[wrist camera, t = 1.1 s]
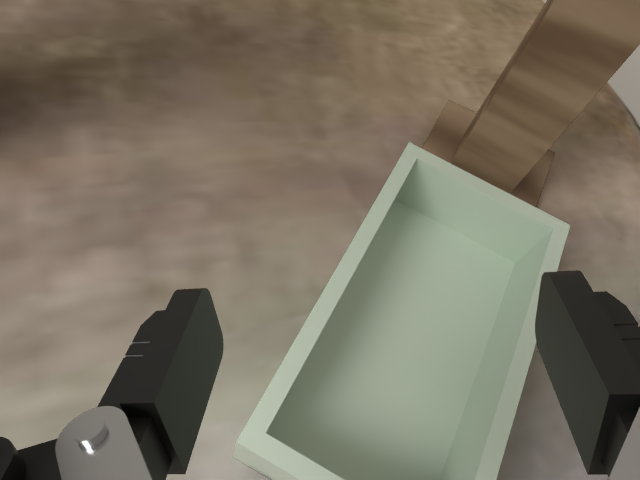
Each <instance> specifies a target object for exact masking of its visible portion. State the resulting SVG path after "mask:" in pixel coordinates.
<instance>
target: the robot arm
mask: <svg viewBox="0 0 640 480" xmlns="http://www.w3.org/2000/svg"><path fill="white" fill-rule="evenodd" d="M535 336H536V342H537V346H538V349H539V352H540V354H541V357H542V359H543V362H544V364H545V367H546V370H547V372H548V375H549V377H550V380H551V382H552V385H553V387H554V390H555V392H556V395H557V397H558V400H559V402H560V405H561V408H562V410H563V413H564V415H565V418H566V420H567V423H568V425H569V428H570V430H571V433H572V435H573V438H574V440H575V443H576V446H577V448H578V451H579V453H580V456H581V458H582V461H583V463H584V466H585V468H586V471H587V473H588V474H608V477H609V478H608V480H640V327H638V323H637V321H636V320H635V318H634V317H633V315H632V314H631V312H630V311H629V309H628V308H627V306H626V305H624V304H623V303H621V302H620V301H619V300H617V299H616V298H615V297H613V296H612V295H611V294H609V293H608V292H607V291H606V292H593V290H592V289H591V287H590V285H589V284H588V282H587V280H586V279H585V277H584V275H583V274H582V273H581V272H580V271H558V272H544V273H543V275H542V278H541V284H540V291H539V298H538V305H537V312H536V319H535ZM125 355H126V357H125V358H123V360H122V362H121V364H120V366H119V368H118V369H117V371H116V373H115V375H114V377H113V379H112V381H111V383H110V384H109V386H108V388H107V390H106V392H105V394H104V396H103V397H102V399H101V401H100V403H99V405H98V407H96V408H93V409H90V410H88V411H86V412H84V413H82V414H80V415H79V416H77V417H76V418H74V419H73V420H72V421H71V422H70V423H69V424H68V425H67V426H66V427H65V428H64V429H63V431H62V432H61V433H60V435H59V437H58V439H55V440H52V441H48V442H45V443H41V444H38V445H35V446H31V447H28V448H24V449H21V450H18V451H17V450H16V448H15V447H14V445H13V444H12V443H11V441H9V440H8V439H6V438H4V437H0V480H166V477H167V474H185V473H186V470H187V467H188V463H189V460H190V457H191V454H192V451H193V448H194V444H195V441H196V438H197V435H198V432H199V429H200V425H201V422H202V419H203V416H204V413H205V410H206V407H207V403H208V400H209V397H210V394H211V391H212V388H213V384H214V381H215V378H216V375H217V372H218V369H219V365H220V362H221V359H222V355H223V336H222V331H221V328H220V325H219V321H218V318H217V314H216V311H215V308H214V304H213V301H212V298H211V295H210V292H209V290H208V289H206V288H201V289H181V290H176V291H175V292H174V294H173V296H172V298H171V300H170V302H169V304H168V306H167V308H166V310H163V311H156V312H155V313H154V314H153V315H152V316H150V317H149V318H148V319H147V320H146V321H145V322H144V323H143V324H142V325H141V326H140V328H139V330H138V332H137V334H136V336H135V338H134V340H133V344H132V345H130V347H129V349H128V351H127V353H126V354H125Z"/></svg>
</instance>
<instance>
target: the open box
mask: <svg viewBox="0 0 640 480" xmlns="http://www.w3.org/2000/svg"><path fill="white" fill-rule="evenodd" d="M569 228H570V225H569V224H567V223H565V222H563V221H561V220H559V219H557V218H555V217H553V216H551V215H550V214H548V213H546V212H544V211H542V210H540V209H538V208H536V207H534V206H532V205H530V204H528V203H526V202H524V201H522V200H520V199H519V198H517V197H515V196H513V195H511V194H509V193H507V192H505V191H503V190H501V189H499V188H497V187H495V186H493V185H491V184H489V183H487V182H486V181H484V180H482V179H480V178H478V177H476V176H474V175H472V174H470V173H468V172H466V171H464V170H462V169H460V168H458V167H456V166H454V165H453V164H451V163H449V162H447V161H445V160H443V159H441V158H439V157H437V156H435V155H433V154H431V153H429V152H427V151H425V150H423V149H421V148H420V147H418V146H416V145H414V144H412V143H410V142H409V143H408V145H407V147H406V148H405V150H404V152H403V154H402V155H401V157H400V159H399V160H398V162H397V164H396V166H395V167H394V169H393V171H392V173H391V174H390V176H389V178H388V180H387V181H386V183H385V185H384V186H383V188H382V190H381V192H380V193H379V195H378V197H377V199H376V200H375V202H374V204H373V206H372V207H371V209H370V211H369V213H368V214H367V216H366V218H365V219H364V221H363V223H362V225H361V226H360V228H359V230H358V232H357V233H356V235H355V237H354V239H353V240H352V242H351V244H350V245H349V247H348V249H347V251H346V252H345V254H344V256H343V258H342V259H341V261H340V263H339V265H338V266H337V268H336V270H335V272H334V273H333V275H332V277H331V278H330V280H329V282H328V284H327V285H326V287H325V289H324V291H323V292H322V294H321V296H320V298H319V299H318V301H317V303H316V304H315V306H314V308H313V310H312V311H311V313H310V315H309V317H308V318H307V320H306V322H305V324H304V325H303V327H302V329H301V331H300V332H299V334H298V336H297V337H296V339H295V341H294V343H293V344H292V346H291V348H290V350H289V351H288V353H287V355H286V357H285V358H284V360H283V362H282V363H281V365H280V367H279V369H278V370H277V372H276V374H275V376H274V377H273V379H272V381H271V383H270V384H269V386H268V388H267V389H266V391H265V393H264V395H263V396H262V398H261V400H260V402H259V403H258V405H257V407H256V409H255V410H254V412H253V414H252V416H251V417H250V419H249V421H248V422H247V424H246V426H245V428H244V429H243V431H242V433H241V435H240V436H239V438H238V440H237V442H236V446H235V451H234V455H233V457H234V458H235V459H237V460H239V461H240V462H242V463H244V464H245V465H247V466H249V467H250V468H252V469H254V470H255V471H257V472H259V473H260V474H262V475H264V476H265V477H267V478H269V479H270V480H496V479H497V476H498V472H499V469H500V466H501V462H502V459H503V455H504V452H505V448H506V445H507V441H508V438H509V435H510V431H511V428H512V424H513V421H514V417H515V414H516V410H517V407H518V404H519V400H520V397H521V393H522V390H523V386H524V383H525V380H526V376H527V373H528V369H529V366H530V362H531V359H532V355H533V352H534V349H535V345H536V336H535V319H536V312H537V305H538V298H539V291H540V284H541V278H542V275H543V273H544V272H557V270H558V266H559V263H560V259H561V256H562V252H563V249H564V245H565V242H566V239H567V235H568V232H569Z"/></svg>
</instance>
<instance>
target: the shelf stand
mask: <svg viewBox="0 0 640 480" xmlns="http://www.w3.org/2000/svg"><path fill="white" fill-rule="evenodd" d="M639 44H640V0H547V2H546V3H545V5H544V6H543V8H542V10H541V11H540V13H539V14H538V16H537V18H536V19H535V21H534V22H533V24H532V26H531V27H530V29H529V30H528V32H527V34H526V35H525V37H524V38H523V40H522V42H521V43H520V45H519V47H518V48H517V50H516V51H515V53H514V55H513V56H512V58H511V59H510V61H509V63H508V64H507V66H506V67H505V69H504V71H503V72H502V74H501V75H500V77H499V79H498V80H497V82H496V83H495V85H494V87H493V88H492V90H491V91H490V93H489V95H488V96H487V98H486V99H485V101H484V103H483V104H482V106H481V107H480V109H479V111H478V112H477V113H475V112H473V111H471V110H469V109H467V108H465V107H463V106H461V105H459V104H457V103H455V102H453V101H451V100H448V102H447V104H446V106H445V108H444V109H443V111H442V113H441V115H440V117H439V119H438V120H437V122H436V124H435V126H434V128H433V129H432V131H431V133H430V135H429V137H428V138H427V140H426V142H425V144H424V146H423V148H422V149H423V150H425V151H427V152H429V153H431V154H433V155H435V156H437V157H439V158H441V159H443V160H445V161H447V162H449V163H451V164H453V165H454V166H456V167H458V168H460V169H462V170H464V171H466V172H468V173H470V174H472V175H474V176H476V177H478V178H480V179H482V180H484V181H486V182H487V183H489V184H491V185H493V186H495V187H497V188H499V189H501V190H503V191H505V192H507V193H509V194H511V195H513V196H515V197H517V198H519V199H520V200H522V201H524V202H526V203H528V204H530V205H532V206H534V207H536V206H537V203H538V200H539V197H540V194H541V191H542V188H543V185H544V183H545V180H546V177H547V174H548V171H549V168H550V165H551V162H552V159H553V157H554V154H555V153H554V152H552V151H550V150H548V149H549V148H550V147H551V146H552V144H553V143H554V142H555V141H556V140H557V139H558V138H559V136H560V135H561V134H562V133H563V132H564V131H565V130H566V128H567V127H568V126H569V125H570V124H571V123H572V122H573V120H574V119H575V118H576V117H577V116H578V115H579V113H580V112H581V111H582V110H583V109H584V108H585V107H586V105H587V104H588V103H589V102H590V101H591V100H592V99H593V97H594V96H595V95H596V94H597V93H598V92H599V91H600V89H601V88H602V87H603V86H604V85H605V84H606V82H607V81H608V80H609V79H610V78H611V77H612V75H613V74H614V73H615V72H616V71H617V70H618V69H619V68H620V66H621V65H622V64H623V63H624V62H625V61H626V59H627V58H628V57H629V56H630V55H631V54H632V53H633V51H634V50H635V49H636V48H637V47H638V46H639Z"/></svg>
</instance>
